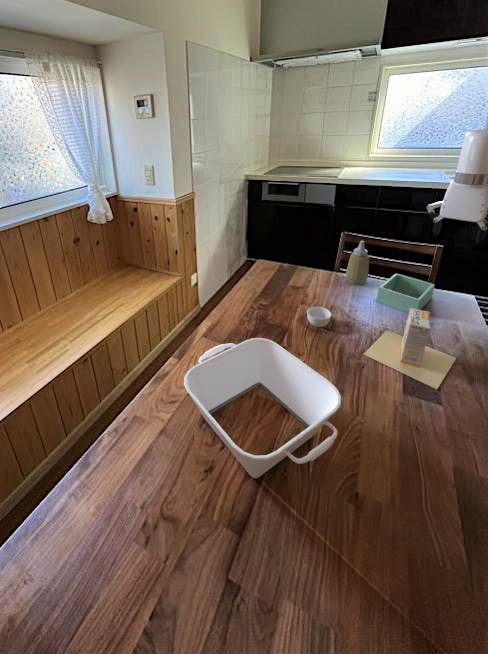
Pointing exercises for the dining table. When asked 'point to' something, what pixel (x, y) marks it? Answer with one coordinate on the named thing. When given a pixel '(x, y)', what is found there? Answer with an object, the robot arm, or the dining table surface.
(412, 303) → the box
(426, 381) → the mat
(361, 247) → the squeeze bottle
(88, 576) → the dining table surface
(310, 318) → the teacup
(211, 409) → the tub
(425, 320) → the supplement box
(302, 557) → the dining table surface
